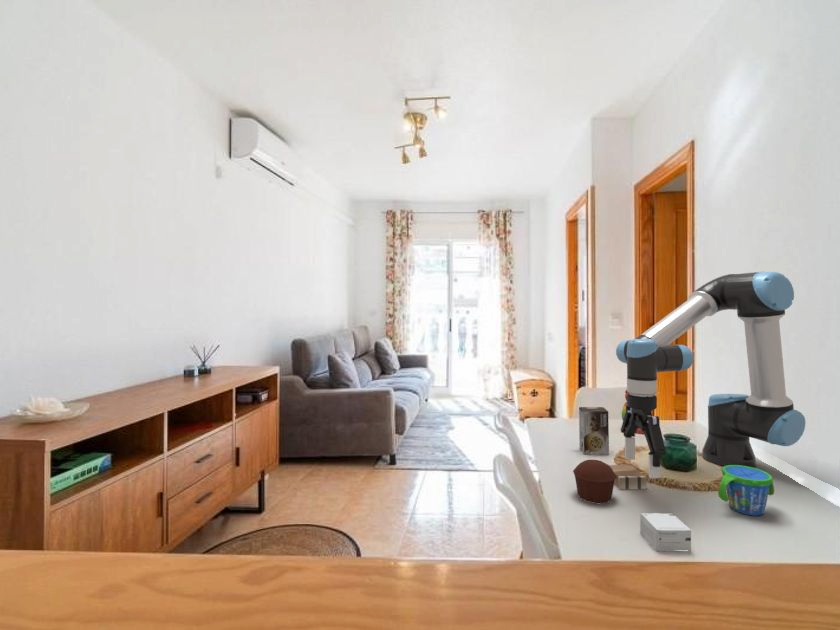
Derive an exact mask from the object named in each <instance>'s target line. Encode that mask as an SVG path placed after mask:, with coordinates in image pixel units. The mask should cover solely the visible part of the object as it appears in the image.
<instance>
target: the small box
mask: <svg viewBox="0 0 840 630" xmlns="http://www.w3.org/2000/svg"><path fill="white" fill-rule="evenodd" d="M639 521H640V523H639V533H640V534H641V536H642V537H643V538H644V539H645V541H646V542H648V544H649V545H650V546H651V547H652V548H653V549H654V550H655V552H674V551H673V550H688V551H687V552H691V550H692V530H691V529H690V527H688V526H687V525H686V524H685V523H684V522H683V521H681V520H680V518H679V517H677V516H676V515H675V514H673V513H660V512H659V513H658V512H653V513H640V514H639ZM670 550H671V551H670Z"/></svg>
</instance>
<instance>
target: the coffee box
mask: <svg viewBox="0 0 840 630" xmlns="http://www.w3.org/2000/svg"><path fill="white" fill-rule="evenodd" d="M578 422H579V424H578V426H579V427H578V429H579V430H578V431H579V436H578V437H579V440H578V441H579V444H578V445H579V450H580V451H581V453H582V452H583V453H582V454H583V455H610V435H609V433H610V431H609V411H608V410H607V409H606V408H605V407H603V406H579V407H578Z"/></svg>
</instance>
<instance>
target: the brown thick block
mask: <svg viewBox="0 0 840 630" xmlns="http://www.w3.org/2000/svg"><path fill="white" fill-rule="evenodd" d="M608 465H609V466H610V467H611V468H612V470H613V472H614V473H615V475H616V476H617V477H616V479H615V481H614V486H616V487H617V489H619V490H647V487H648V486H647V485H648V484H647V483H648V478H647V476H646V475H644V474H643V473H641V471H639V470H638V469H636V468H635V467H634V466H633V465H631V464H608Z"/></svg>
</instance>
